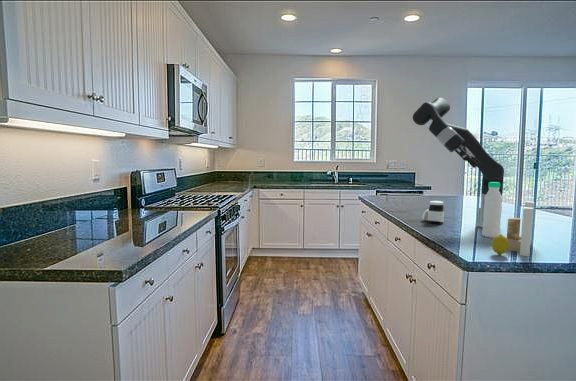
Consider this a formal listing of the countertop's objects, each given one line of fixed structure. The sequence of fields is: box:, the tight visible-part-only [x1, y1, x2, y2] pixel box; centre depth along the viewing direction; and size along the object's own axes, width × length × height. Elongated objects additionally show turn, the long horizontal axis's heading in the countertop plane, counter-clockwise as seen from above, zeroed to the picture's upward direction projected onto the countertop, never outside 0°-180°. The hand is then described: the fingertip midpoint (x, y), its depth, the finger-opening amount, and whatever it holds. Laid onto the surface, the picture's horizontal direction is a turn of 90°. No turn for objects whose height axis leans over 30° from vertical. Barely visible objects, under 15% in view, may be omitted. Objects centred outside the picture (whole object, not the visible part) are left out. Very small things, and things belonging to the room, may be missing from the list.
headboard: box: [508, 200, 535, 257], centre depth 142 cm, size 8×22×18 cm, turn 144°
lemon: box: [491, 233, 509, 256], centre depth 133 cm, size 6×6×8 cm
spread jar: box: [421, 200, 445, 225], centre depth 194 cm, size 12×11×12 cm
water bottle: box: [481, 182, 503, 239], centre depth 161 cm, size 7×7×25 cm
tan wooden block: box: [506, 216, 522, 240], centre depth 144 cm, size 5×4×12 cm
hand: (477, 165), depth 151 cm, fingers open, 8 cm apart
